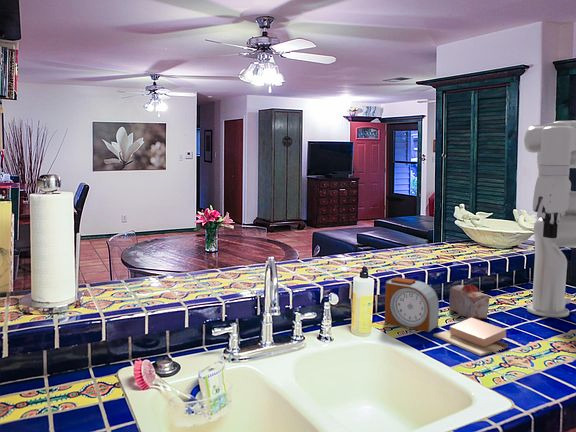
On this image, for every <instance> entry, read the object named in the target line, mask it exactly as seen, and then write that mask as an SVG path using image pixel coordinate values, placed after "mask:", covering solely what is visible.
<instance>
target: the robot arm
mask: <svg viewBox="0 0 576 432" xmlns="http://www.w3.org/2000/svg"><path fill="white" fill-rule="evenodd" d="M523 141H524V142H523V143H524V148H525V150H526V151H527V152H528V153H531V154H533V153H535V154H536V153H537V154H536V155H537V156H536V161H537V162H536V163H537V169H538V176H537V178H536V182H535V186H534V191H533V200H532V211H533V212H535V213H537V214H536V217H537V218H538V219H536V220H535V222H534V225H533V238H534V246H535V247H534V264H533V265H534V268H533V284H532V299H531V300H532V301H531V302H532V303H529V304H527V305H526V310H527V312H529V313H531V314H534V315H537V316H541V317H545V318H566V317H568V316H569V315H570V310H569V309H568V308H566V305H567V304H570V303H572V298H571V297H566V286H567V285H566V283H567V273H568V272H567V270H568V259H567V257H566V255H565V253H563V251H562V250H561V248H571V249H572V248H574V249H575V248H576V191H575V190H574V191H573V190H572V189H571V188H572V182H571V180H570V169H576V120H556V121H554V122H550V123H544V124H536V125H531V126H529V127H528V128H527V129H526V131H525V134H524V139H523Z"/></svg>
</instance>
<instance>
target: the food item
mask: <svg viewBox="0 0 576 432" xmlns="http://www.w3.org/2000/svg"><path fill="white" fill-rule="evenodd" d="M448 300H449V302H448V308H449V311H453V312H455V313H457V314H458V316H459V317H460V316H461V317H464V318H467V319H469V318H474V319H477V320H486V319H488V311H489V308H490V306H489V305H490V295H488V294H485V293H482V292H480V291H479V288H478V287H476V285H470V284H467V285H464V284H463V285H461V284H458V285H453V286H451V287H449V298H448Z"/></svg>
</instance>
